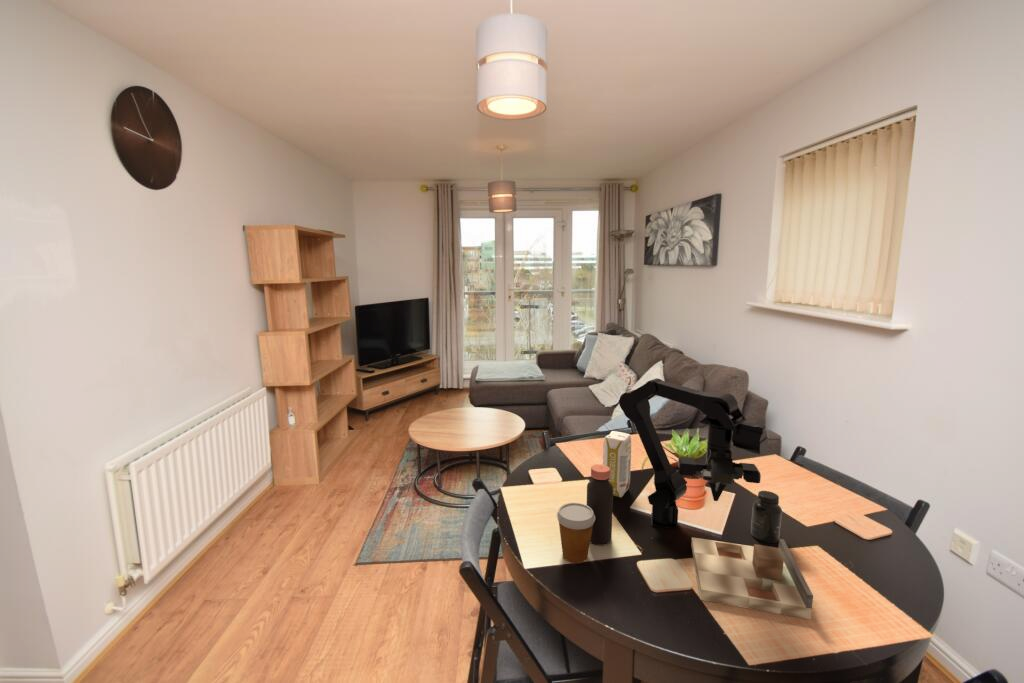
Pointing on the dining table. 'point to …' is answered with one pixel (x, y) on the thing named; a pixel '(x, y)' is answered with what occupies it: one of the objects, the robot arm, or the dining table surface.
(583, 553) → the disposable coffee cup
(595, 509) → the black water bottle
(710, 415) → the robot arm
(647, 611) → the dining table surface
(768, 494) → the supplement bottle
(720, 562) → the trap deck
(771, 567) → the walnut block
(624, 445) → the juice carton
